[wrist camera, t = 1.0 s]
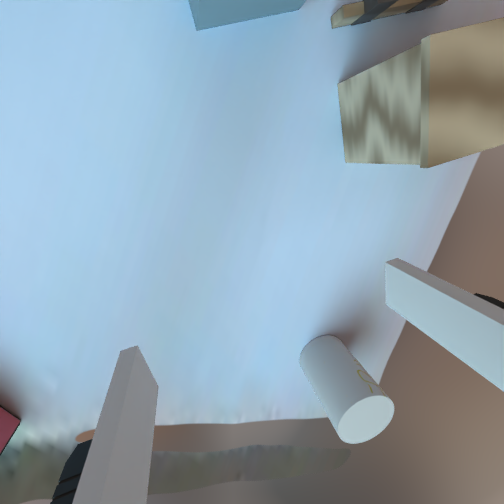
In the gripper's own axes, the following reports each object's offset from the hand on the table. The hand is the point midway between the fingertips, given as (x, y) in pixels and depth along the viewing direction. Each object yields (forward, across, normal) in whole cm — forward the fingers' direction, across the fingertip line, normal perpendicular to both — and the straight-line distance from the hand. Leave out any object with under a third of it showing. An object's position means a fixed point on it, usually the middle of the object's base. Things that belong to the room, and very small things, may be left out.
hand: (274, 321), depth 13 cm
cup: (+21, +10, -27) cm, 36 cm away
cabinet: (+21, +24, +11) cm, 34 cm away
